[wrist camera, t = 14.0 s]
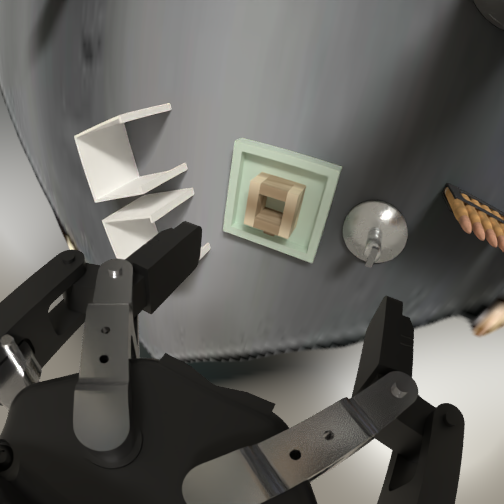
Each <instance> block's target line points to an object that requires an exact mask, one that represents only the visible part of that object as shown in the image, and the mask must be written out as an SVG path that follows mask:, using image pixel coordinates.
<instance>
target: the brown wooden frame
mask: <svg viewBox="0 0 504 504" xmlns="http://www.w3.org/2000/svg"><path fill="white" fill-rule="evenodd" d="M305 189H306V185H303V184H300V183H297V182H294V181H291V180H287V179H284V178H281V177H278V176H274V175H271V174H268V173H264V172H261V173H260V174H258V175H257V176H256V177H254V178H253V179H252V180H251V181H250V186H249V192H248V199H247V205H246V211H245V218H244V224H246V225H248V226H251V227H254V228H257V229H260V230H263V233H265V234H268V235H271V236H273V237H274V236H275V235H277V236H280V237H283V238H286V239H288V238H289V237H290V235H291V234H292V232H293V231H294V229H295V227H296V225H297V221H298V217H299V213H300V209H301V205H302V201H303V197H304V193H305ZM267 196H268V197H271V198H274V199H277V200H280V201H283V202H285V207H284V211H283V213H282V212H279V211H276V210H273V209H270V208H267V207H265V205H266V200H267Z"/></svg>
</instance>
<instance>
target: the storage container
mask: <svg viewBox="0 0 504 504" xmlns="http://www.w3.org/2000/svg"><path fill="white" fill-rule="evenodd" d="M169 110H172V109H171V105H170V103H167V104H163V105H158V106H154V107H149V108H145V109H141V110H137V111H133V112H129V113H125V114H122V115H119V116H116V117H114V118H112V119H109V120H107V121H105V122H103V123H101V124H98V125H96V126H94V127H92V128H90V129H88V130H86V131H84V132H82V133H80V134H77V135H75V136H74V138H75V142H76V145H77V148H78V152H79V155H80V158H81V162H82V165H83V168H84V171H85V174H86V177H87V180H88V183H89V186H90V189H91V192H92V195H93V198H94V201H95V203H97V202H102V201H107V200H112V199H118V198H124V197H129V196H135V195H141V194H145V193H146V192H148V191H150V190H152V189H153V188H155V187H157V186H159V185H160V184H162V183H164V182H166V181H168V180H169V179H171V178H173V177H175V176H177V175H178V174H180V173H182V172H184V171H186V170H188V169H187V165H186V163H183V164H181V165H179V166H177V167H175V168H173V169H171V170H169V171H165V172H160V173H155V174H150V175H145V176H141V177H140V176H139V173H138V169H137V166H136V163H135V159H134V156H133V153H132V149H131V146H130V142H129V139H128V135H127V132H126V128H125V124H124V123H125V122H128V121H131V120H135V119H138V118H142V117H146V116H149V115H153V114H157V113H161V112H165V111H169ZM193 195H194V190H193V188H187V189H180V190H173V191H166V192H159V193H153V194H147V195H143V196H141V197H140V198H138V199H136V200H135V201H133V202H131V203H130V204H128V205H126V206H125V207H123V208H121V209H120V210H118V211H116V212H115V213H113V214H112V215H110V216H108V217H107V218H105V219H104V220H102V222H103V225H104V228H105V230H106V233H107V235H108V238H109V240H110V243H111V245H112V248H113V250H114V253H115V255H116V258H117V259H124V260H125V259H126V258H127V257H129V256H130V255H131V254H132V253H134V252H135V251H136V250H137V249H139V248H140V247H141V246H143V245H144V244H146V242H148V241H149V240H150V239H152V238H153V237H154V236H156V235H157V234H158V231H157V228H156V225H155V221H156V220H158V219H159V218H161V217H162V216H164V215H165V214H166V213H168V212H169V211H171V210H172V209H174V208H175V207H177V206H178V205H179V204H181V203H182V202H184V201H185V200H187V199H188V198H190V197H191V196H193ZM210 249H211V248H210V245H209V243H207V244H205V245H204V246H203V247H201V252H200V259H201V258H202V257H203V256H204V255H205V254H206V253H207V252H208V251H209V250H210ZM200 259H199V260H200Z"/></svg>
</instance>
